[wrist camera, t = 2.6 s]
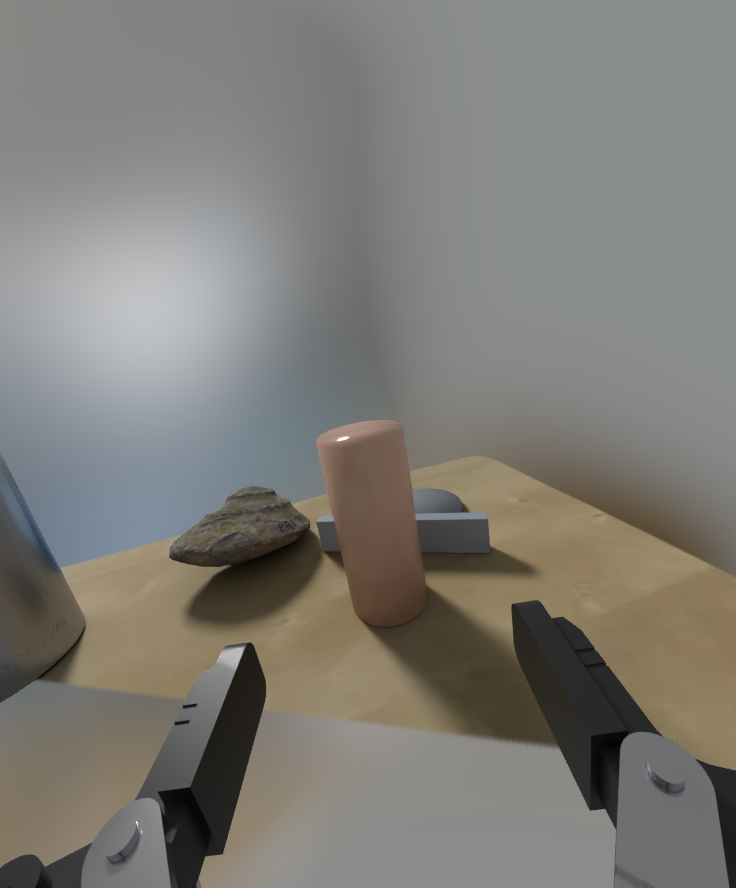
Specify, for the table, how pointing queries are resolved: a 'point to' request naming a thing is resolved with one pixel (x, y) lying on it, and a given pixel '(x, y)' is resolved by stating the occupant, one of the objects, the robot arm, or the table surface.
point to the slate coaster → (436, 501)
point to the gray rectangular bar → (431, 532)
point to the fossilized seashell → (241, 530)
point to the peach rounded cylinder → (375, 519)
